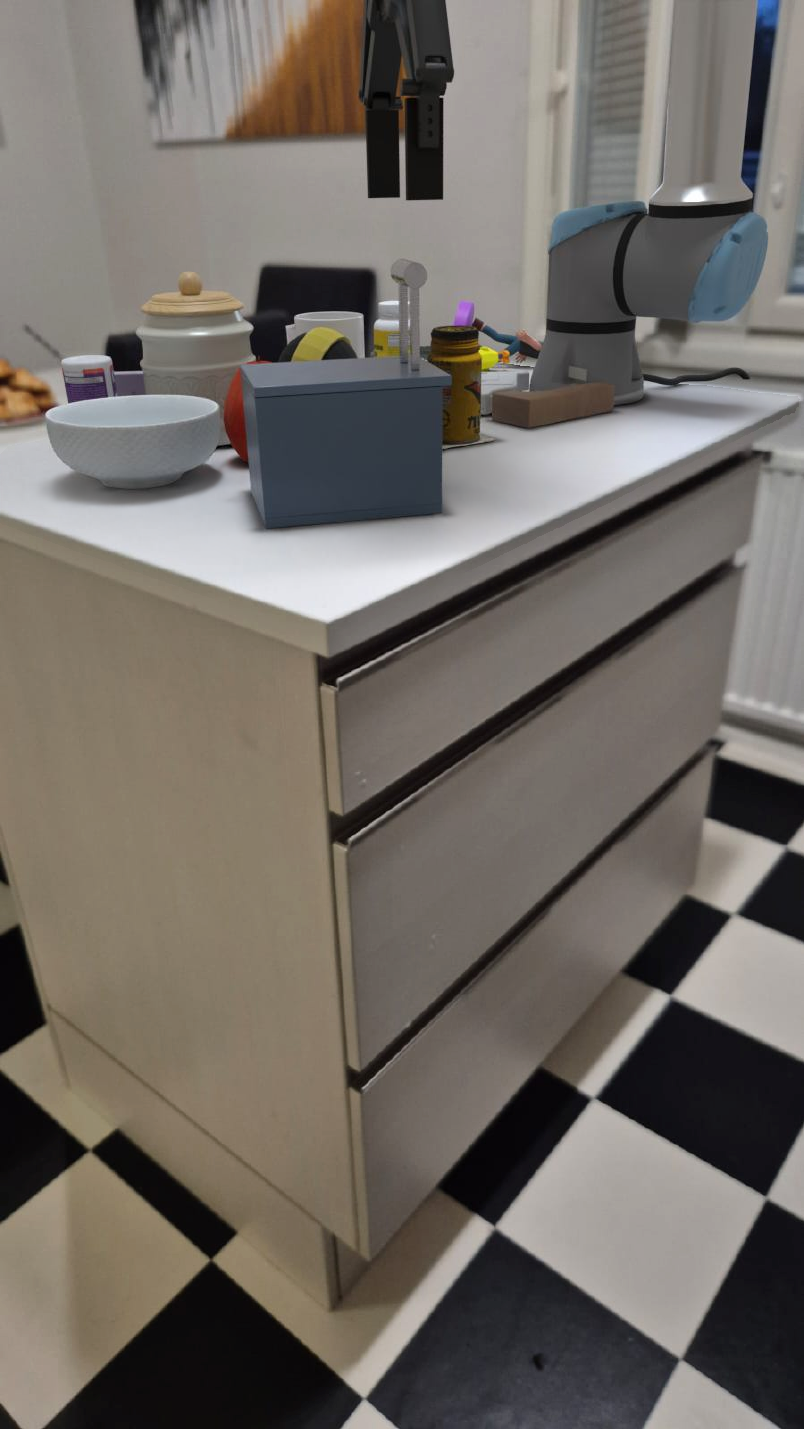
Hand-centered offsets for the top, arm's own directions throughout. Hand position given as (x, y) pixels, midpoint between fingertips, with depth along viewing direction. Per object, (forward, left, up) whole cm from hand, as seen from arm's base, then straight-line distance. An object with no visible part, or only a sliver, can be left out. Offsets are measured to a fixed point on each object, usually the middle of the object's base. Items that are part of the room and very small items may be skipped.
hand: (402, 199), depth 80 cm
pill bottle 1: (+28, -31, -15) cm, 44 cm away
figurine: (-26, -72, -20) cm, 79 cm away
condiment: (-10, -22, -25) cm, 35 cm away
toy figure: (-32, -64, -23) cm, 75 cm away
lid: (+5, -1, -14) cm, 15 cm away
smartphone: (+27, -41, -22) cm, 54 cm away
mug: (0, -48, -25) cm, 54 cm away
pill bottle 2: (-13, -59, -25) cm, 66 cm away
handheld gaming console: (-18, -33, -23) cm, 44 cm away
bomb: (+6, -39, -18) cm, 43 cm away
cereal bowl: (+24, -15, -25) cm, 38 cm away
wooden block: (-19, -28, -23) cm, 41 cm away
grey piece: (-16, -64, -25) cm, 70 cm away
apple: (+11, -19, -25) cm, 33 cm away
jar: (+16, -32, -25) cm, 44 cm away
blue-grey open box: (+6, -1, -25) cm, 26 cm away
